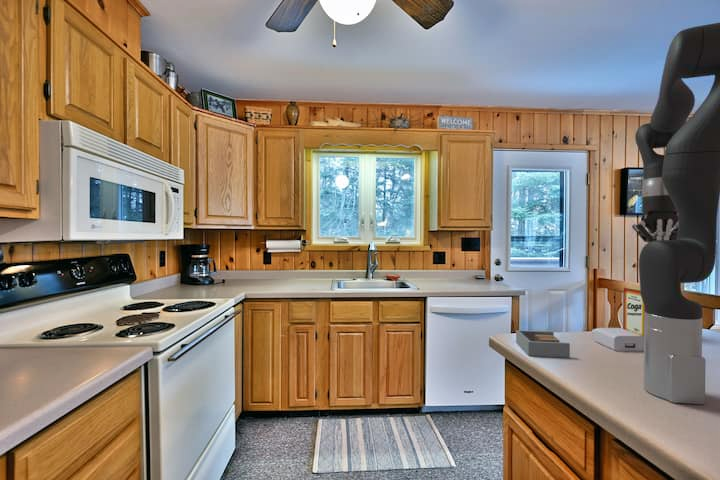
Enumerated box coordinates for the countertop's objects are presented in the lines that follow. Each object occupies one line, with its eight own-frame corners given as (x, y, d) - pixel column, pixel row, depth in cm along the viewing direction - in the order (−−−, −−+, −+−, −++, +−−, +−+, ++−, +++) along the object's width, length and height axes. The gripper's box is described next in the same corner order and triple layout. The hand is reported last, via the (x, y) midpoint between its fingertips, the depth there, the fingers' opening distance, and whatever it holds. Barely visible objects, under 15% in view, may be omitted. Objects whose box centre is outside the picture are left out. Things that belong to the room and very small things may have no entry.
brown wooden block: (559, 354, 99) (559, 340, 99) (540, 353, 100) (540, 339, 100) (552, 348, 104) (552, 335, 104) (535, 347, 105) (535, 334, 105)
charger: (609, 336, 116) (646, 351, 101) (581, 336, 116) (614, 352, 101) (609, 322, 116) (646, 335, 101) (582, 322, 116) (614, 336, 101)
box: (569, 357, 95) (569, 343, 95) (528, 356, 97) (528, 342, 97) (552, 344, 107) (552, 331, 107) (516, 342, 109) (516, 330, 109)
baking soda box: (623, 331, 121) (623, 286, 120) (641, 331, 121) (642, 286, 120) (645, 340, 111) (646, 290, 111) (665, 339, 111) (666, 290, 111)
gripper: (642, 194, 91) (642, 259, 91) (698, 192, 89) (698, 259, 89) (624, 197, 98) (624, 257, 99) (676, 196, 96) (675, 257, 97)
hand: (659, 258), depth 94 cm, fingers closed
